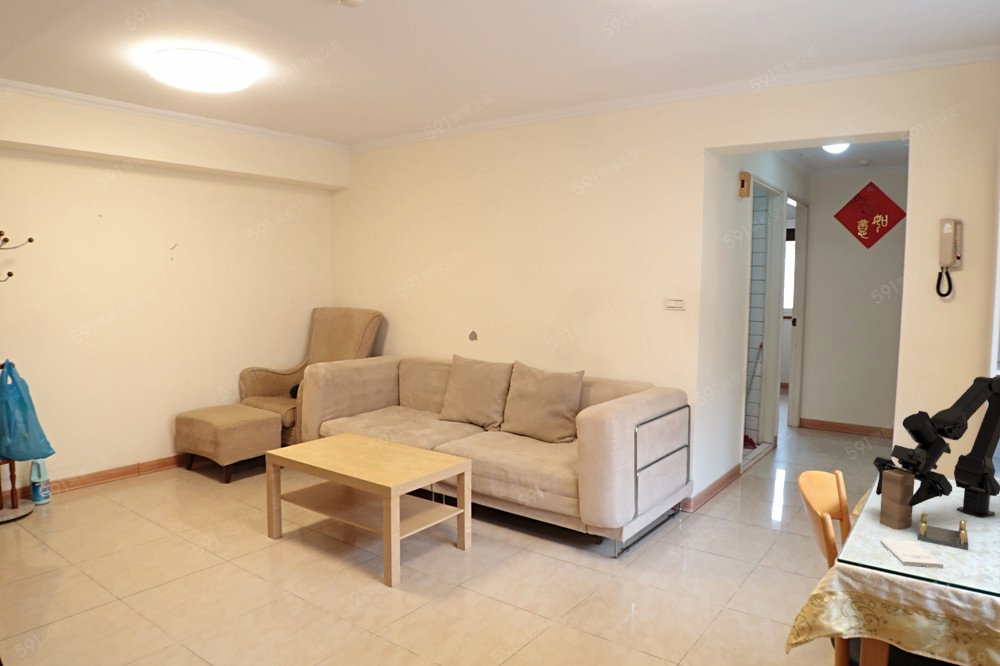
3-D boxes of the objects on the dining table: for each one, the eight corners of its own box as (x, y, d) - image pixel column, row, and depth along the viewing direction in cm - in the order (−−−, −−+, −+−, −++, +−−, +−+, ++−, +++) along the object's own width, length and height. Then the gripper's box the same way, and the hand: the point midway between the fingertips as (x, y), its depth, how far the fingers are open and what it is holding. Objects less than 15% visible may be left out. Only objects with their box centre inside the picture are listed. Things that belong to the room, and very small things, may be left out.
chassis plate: (919, 527, 165) (920, 512, 165) (966, 536, 160) (967, 521, 159) (917, 539, 157) (918, 523, 157) (967, 549, 152) (968, 533, 151)
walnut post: (893, 520, 170) (896, 469, 169) (911, 527, 165) (914, 474, 164) (879, 523, 168) (882, 470, 167) (897, 529, 164) (900, 476, 163)
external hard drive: (916, 548, 154) (943, 570, 141) (879, 545, 155) (902, 567, 143) (917, 541, 153) (943, 563, 141) (880, 539, 155) (903, 560, 143)
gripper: (879, 427, 175) (847, 470, 172) (947, 443, 158) (912, 491, 155) (898, 453, 178) (867, 495, 175) (967, 471, 161) (933, 519, 158)
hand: (893, 499), depth 166 cm, fingers open, 9 cm apart
